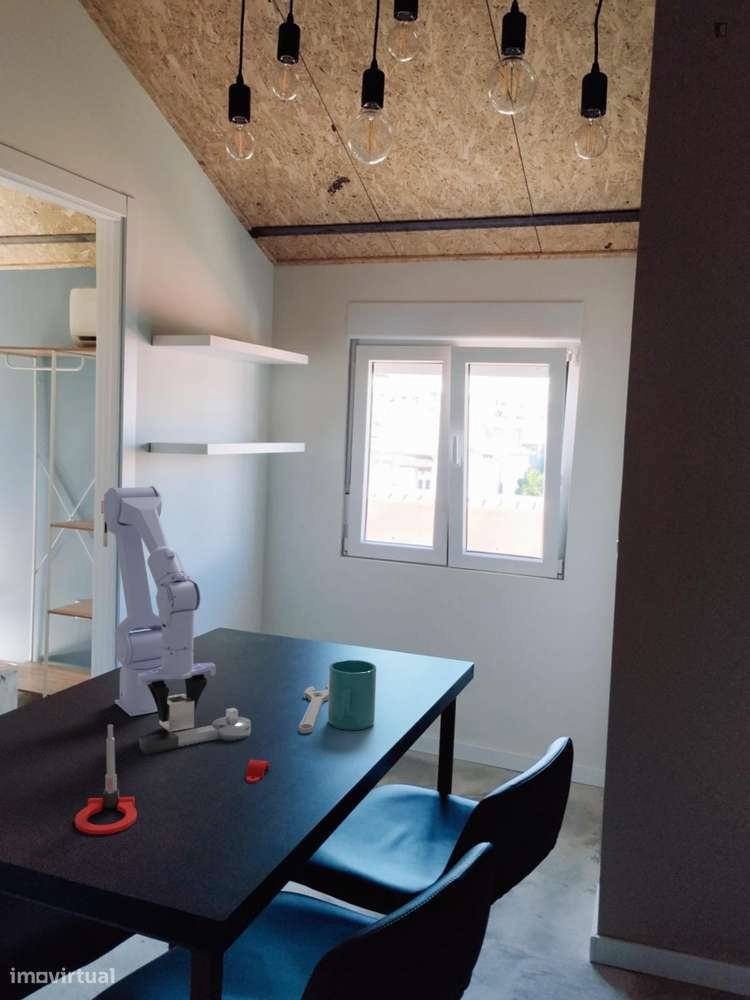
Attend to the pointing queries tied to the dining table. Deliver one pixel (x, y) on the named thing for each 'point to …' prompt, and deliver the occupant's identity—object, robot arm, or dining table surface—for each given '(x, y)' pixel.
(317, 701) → the adjustable wrench
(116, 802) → the tow hook
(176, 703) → the socket
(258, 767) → the pipe clamp
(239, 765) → the dining table surface
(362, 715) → the cup
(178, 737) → the ratchet
